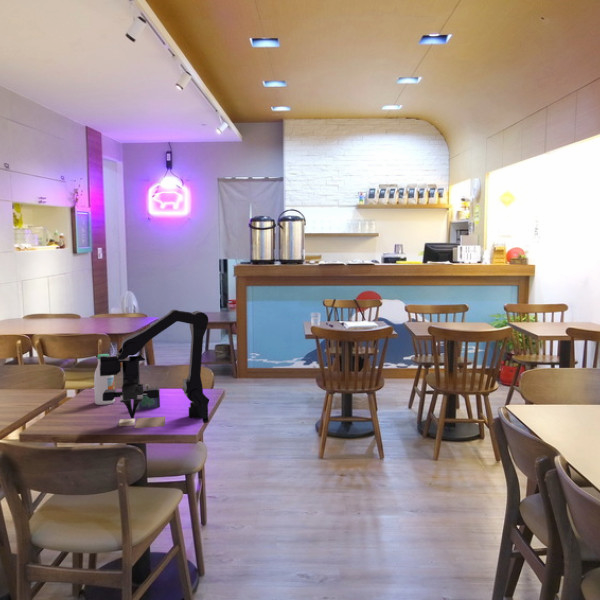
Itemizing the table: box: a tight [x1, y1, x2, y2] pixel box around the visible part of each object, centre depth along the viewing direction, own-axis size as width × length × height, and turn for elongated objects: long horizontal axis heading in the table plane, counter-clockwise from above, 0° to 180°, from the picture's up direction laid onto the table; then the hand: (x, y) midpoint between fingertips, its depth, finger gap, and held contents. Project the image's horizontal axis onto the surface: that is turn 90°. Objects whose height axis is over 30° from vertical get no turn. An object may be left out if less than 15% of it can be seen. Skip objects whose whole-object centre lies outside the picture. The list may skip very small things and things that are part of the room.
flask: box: [136, 383, 161, 411], centre depth 215 cm, size 9×3×11 cm, turn 109°
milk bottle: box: [93, 353, 116, 406], centre depth 228 cm, size 8×8×20 cm
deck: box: [134, 416, 166, 429], centre depth 196 cm, size 10×12×2 cm
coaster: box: [118, 418, 136, 427], centre depth 195 cm, size 5×5×2 cm
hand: (132, 418), depth 195 cm, fingers closed
